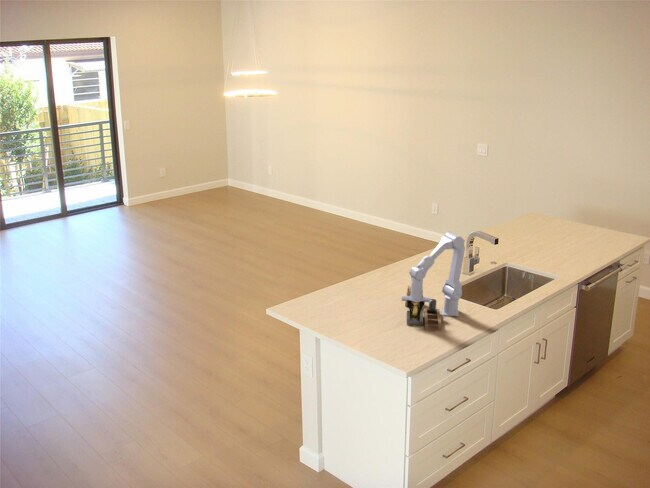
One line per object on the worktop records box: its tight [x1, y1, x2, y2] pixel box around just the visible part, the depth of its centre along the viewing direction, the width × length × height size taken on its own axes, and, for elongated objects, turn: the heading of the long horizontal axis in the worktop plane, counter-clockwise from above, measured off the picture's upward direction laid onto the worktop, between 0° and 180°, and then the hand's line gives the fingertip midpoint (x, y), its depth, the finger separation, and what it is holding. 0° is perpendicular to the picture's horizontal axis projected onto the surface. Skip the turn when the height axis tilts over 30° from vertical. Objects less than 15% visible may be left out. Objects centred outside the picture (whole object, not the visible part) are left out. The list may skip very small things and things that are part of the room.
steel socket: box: [406, 310, 424, 327], centre depth 367 cm, size 12×8×2 cm, turn 174°
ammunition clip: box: [404, 285, 424, 309], centre depth 384 cm, size 11×2×12 cm, turn 121°
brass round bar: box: [411, 303, 419, 318], centre depth 366 cm, size 4×4×9 cm
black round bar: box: [428, 298, 437, 314], centre depth 371 cm, size 4×4×9 cm
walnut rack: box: [423, 307, 442, 332], centre depth 366 cm, size 21×8×2 cm, turn 174°
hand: (414, 314), depth 366 cm, fingers closed on brass round bar, 4 cm apart
